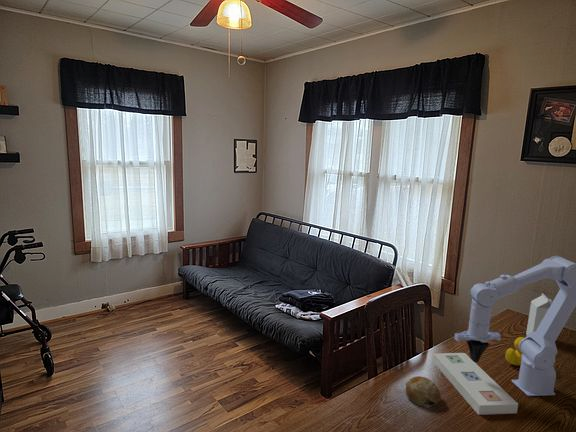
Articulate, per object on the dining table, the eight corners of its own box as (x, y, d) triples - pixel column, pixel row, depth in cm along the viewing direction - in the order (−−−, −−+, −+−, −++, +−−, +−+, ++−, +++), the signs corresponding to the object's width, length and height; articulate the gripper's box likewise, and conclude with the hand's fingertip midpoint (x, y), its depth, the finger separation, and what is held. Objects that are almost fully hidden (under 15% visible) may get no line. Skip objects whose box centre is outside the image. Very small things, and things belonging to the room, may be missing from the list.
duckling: (523, 357, 140) (527, 332, 139) (536, 365, 135) (540, 340, 134) (499, 361, 137) (503, 336, 135) (512, 370, 132) (516, 344, 130)
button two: (456, 362, 135) (457, 355, 134) (462, 368, 131) (463, 362, 130) (445, 362, 134) (446, 356, 134) (451, 369, 130) (452, 362, 130)
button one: (491, 398, 115) (492, 391, 115) (499, 407, 111) (501, 399, 111) (479, 399, 115) (480, 391, 114) (487, 408, 111) (488, 400, 110)
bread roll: (412, 417, 112) (421, 402, 107) (396, 385, 120) (404, 370, 115) (440, 411, 115) (450, 397, 110) (423, 380, 123) (432, 366, 118)
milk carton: (531, 342, 153) (538, 298, 149) (525, 334, 159) (532, 291, 156) (551, 345, 151) (558, 300, 147) (545, 337, 157) (552, 294, 154)
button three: (472, 379, 125) (473, 372, 124) (479, 386, 121) (480, 379, 121) (461, 379, 124) (462, 372, 124) (468, 387, 121) (469, 379, 120)
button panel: (463, 360, 137) (464, 352, 137) (516, 413, 110) (518, 404, 109) (432, 361, 136) (433, 353, 135) (478, 414, 108) (479, 405, 108)
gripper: (465, 327, 114) (460, 368, 117) (509, 326, 116) (503, 366, 118) (452, 317, 121) (448, 355, 124) (494, 316, 123) (489, 354, 125)
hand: (474, 360), depth 121 cm, fingers closed
